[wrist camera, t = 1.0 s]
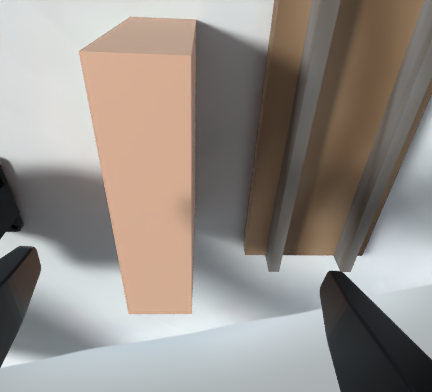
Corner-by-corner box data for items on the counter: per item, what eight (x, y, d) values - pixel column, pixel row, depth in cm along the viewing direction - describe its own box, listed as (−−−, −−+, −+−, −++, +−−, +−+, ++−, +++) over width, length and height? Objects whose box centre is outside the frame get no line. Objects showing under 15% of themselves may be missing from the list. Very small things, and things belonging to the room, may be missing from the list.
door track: (243, 244, 28) (247, 271, 25) (280, -44, 16) (293, -47, 14) (356, 245, 28) (371, 271, 26) (470, -34, 17) (515, -34, 14)
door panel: (149, 215, 26) (128, 314, 18) (130, 16, 18) (78, 51, 10) (195, 215, 26) (191, 313, 19) (196, 19, 18) (190, 55, 11)
